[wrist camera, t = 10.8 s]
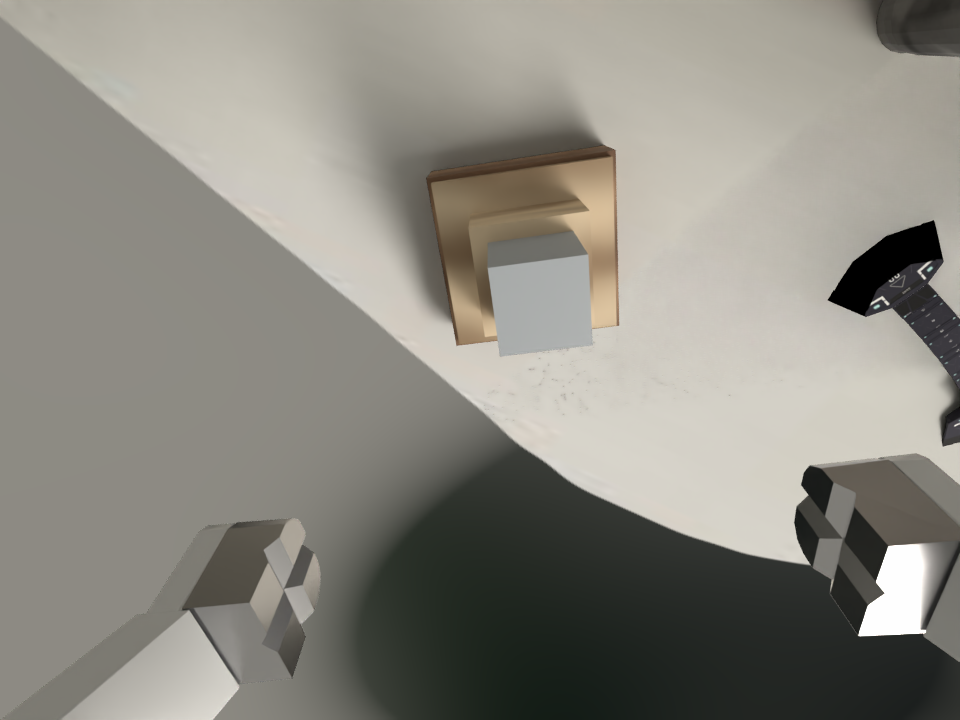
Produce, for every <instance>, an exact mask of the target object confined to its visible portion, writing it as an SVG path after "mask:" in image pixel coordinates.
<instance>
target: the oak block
mask: <svg viewBox="0 0 960 720" xmlns="http://www.w3.org/2000/svg"><path fill="white" fill-rule="evenodd" d="M468 229H469V236H470V242H471V249H472V255H473V262H474V268H475V275H476V282H477V288H478V295H479V301H480V308H481V315H482V321H483V328H484V334H485V337H489V336H497V331H496V324H495V317H494V310H493V303H492V296H491V289H490V281H489V274H488V243H489V242H496V241H503V240H511V239H518V238H525V237H532V236H539V235H547V234H554V233H561V232H568V231H574V233H575V234H576V236H577V238H578V239H579V241H580V242H581V244H582V245H583V247H584V248H585V250H586V252H587V253H588V258H589V280H590V301H591V322H592V324H594V323H595V315H594V292H593V269H592V246H591V223H590V210H589V209H588V208H587V207H586V206H585V205H584V204H583V203H582V202H581V200H580V199H572V200H565V201H558V202H551V203H544V204H537V205H530V206H523V207H516V208H509V209H502V210H495V211H488V212H481V213H474V214H470V220H469V227H468Z"/></svg>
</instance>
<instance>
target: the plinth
mask: <svg viewBox="0 0 960 720" xmlns="http://www.w3.org/2000/svg"><path fill="white" fill-rule="evenodd" d="M426 179H427V185H428V190H429V196H430V201H431V207H432V212H433V218H434V223H435V229H436V234H437V240H438V245H439V251H440V256H441V262H442V267H443V273H444V278H445V284H446V289H447V295H448V300H449V306H450V312H451V317H452V323H453V328H454V334H455V339H456V345H457V346H458V345H466V344H474V343H482V342H490V341H498V339H497V336H489V337H485V334H484V328H483V321H482V315H481V308H480V301H479V295H478V288H477V282H476V275H475V268H474V262H473V255H472V249H471V242H470V236H469V229H468V227H469V220H470V214H474V213H481V212H488V211H495V210H502V209H509V208H516V207H523V206H530V205H537V204H544V203H551V202H558V201H565V200H572V199H580V200H581V202H582V203H583V204H584V205H585V206H586V207H587V208H588V209H589V210H590V223H591V246H592V269H593V292H594V315H595V323H594V324H592V329H595V328H603V327H612V326H619V299H618V250H617V201H616V152H615V150H614V149H612V148H609V147H607V146H605V145H604V146H597V147H591V148H584V149H577V150H571V151H564V152H557V153H551V154H544V155H537V156H531V157H524V158H517V159H511V160H504V161H498V162H491V163H484V164H478V165H471V166H464V167H458V168H451V169H444V170H438V171H431V173H430V174H429V175H428V177H427V178H426Z"/></svg>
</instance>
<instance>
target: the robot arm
mask: <svg viewBox="0 0 960 720" xmlns="http://www.w3.org/2000/svg"><path fill="white" fill-rule="evenodd" d="M801 486H802V487H803V488H804V490H805V491H806V492H807V494H808V496H807V497H806V498H805V499H804V500H803V501H802V502H801V503H800V504H799V505H798V506H797V507H796V514H795V521H794V524H795V529H796V535H797V540H798V542H799V544H800V547H801V549H802V551H803V554H804V555H805V557H806V558H807V560H808V561H809V563H810V564H811V566H812V568H814V569H815V570H817V571H819V572H820V573H822V574H824V575H825V576H827V577H828V578H830V579H832V583H831V590H830V595H831V596H832V598H833V599H834V600H835V602H836V603H837V605H838V606H839V608H840V609H841V611H842V612H843V614H844V615H845V617H846V618H847V620H848V621H849V623H850V624H851V626H852V627H853V628H854V630H855V632H856V633H857V634H858V636H866V635H886V634H908V633H924V637H925V638H927V639H928V640H930V641H931V642H932V643H934V644H935V645H937V646H938V647H939V648H941V649H942V650H944V651H945V652H946V653H948V654H949V655H950V656H952V657H954V658H955V659H956V660H957V661H959V662H960V485H959V484H958V483H957V482H955V481H954V480H953V479H952V478H951V477H950V476H948V475H947V474H946V473H945V472H944V471H943V470H941V469H940V468H939V467H938V466H937V465H935V464H934V463H933V462H932V461H931V460H930V459H928V458H926V457H924V456H921V455H919V454H907V455H898V456H889V457H880V458H878V459H875V458H873V459H864V460H855V461H846V462H837V463H828V464H819V465H810V466H809V467H808V468H807V469H806V471H805V472H804V474H803V479H802V483H801ZM305 535H306V533H305V531H304V529H303V527H302V525H301V523H300V521H299V520H297V519H292V518H289V519H277V520H263V521H250V522H237V523H232V524H218V525H208V526H206V527H205V528H203V529H202V530H200V531H199V532H198V534H197V535H196V537H195V538H194V540H193V542H192V543H191V545H190V546H189V547H188V549H187V551H186V552H185V554H184V556H183V557H182V558H181V560H180V562H179V563H178V565H177V566H176V568H175V569H174V571H173V572H172V574H171V576H170V577H169V579H168V580H167V582H166V583H165V585H164V586H163V588H162V590H161V591H160V593H159V594H158V596H157V597H156V599H155V600H154V602H153V604H152V605H151V607H150V608H149V610H148V611H147V613H146V614H139V615H135V616H134V617H133V618H132V619H130V620H129V621H128V622H126V623H125V624H124V625H123V626H121V627H120V628H119V629H117V630H116V631H115V632H113V633H112V634H111V635H110V636H108V637H107V638H106V639H104V640H103V641H102V642H101V643H99V644H98V645H97V646H95V647H94V648H93V649H91V650H90V651H89V652H88V653H86V654H85V655H84V656H82V657H81V658H80V659H79V660H77V661H76V662H75V663H73V664H72V665H71V666H69V667H68V668H67V669H66V670H64V671H63V672H62V673H60V674H59V675H58V676H56V677H55V678H54V679H53V680H51V681H50V682H49V683H48V684H46V685H45V686H43V687H42V688H41V689H40V690H39V691H37V692H36V693H34V694H33V695H32V696H31V697H29V698H28V699H27V700H25V701H24V702H23V703H21V704H20V705H19V706H18V707H16V708H15V709H14V710H12V711H11V712H10V713H9V714H7V715H6V716H5V717H3V718H2V719H1V720H213V719H214V718H215V716H216V715H217V714H218V713H219V712H220V710H221V709H222V708H223V707H224V706H225V704H226V703H227V702H228V701H229V699H230V698H231V697H232V696H233V695H234V694H235V692H236V691H237V690H238V689H239V685H238V684H245V683H255V682H264V681H273V680H283V679H292V677H293V675H294V671H295V669H296V665H297V662H298V659H299V656H300V653H301V650H302V647H303V644H304V641H305V638H306V636H305V633H304V631H303V628H302V626H301V624H302V623H303V622H304V621H305V620H306V619H307V618H308V617H309V616H310V615H311V614H312V613H313V611H314V610H315V607H316V603H317V600H318V596H319V590H320V578H321V576H320V569H319V564H318V561H317V558H316V556H315V553H314V552H313V551H311V550H309V549H308V548H307V547H305V546H304V545H302V543H303V541H304V538H305Z"/></svg>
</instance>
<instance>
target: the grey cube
mask: <svg viewBox="0 0 960 720" xmlns="http://www.w3.org/2000/svg"><path fill="white" fill-rule="evenodd" d="M488 274H489V281H490V289H491V296H492V303H493V310H494V317H495V324H496V331H497V339H498V346H499V353H500V356H508V355H517V354H525V353H533V352H541V351H550V350H558V349H566V348H575V347H583V346H591V345H593V343H592V322H591V301H590V280H589V258H588V253H587V252H586V250H585V248H584V247H583V245H582V244H581V242H580V241H579V239H578V238H577V236H576V234H575V233H574V231H568V232H561V233H554V234H547V235H539V236H532V237H525V238H518V239H511V240H503V241H496V242H489V243H488Z"/></svg>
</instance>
